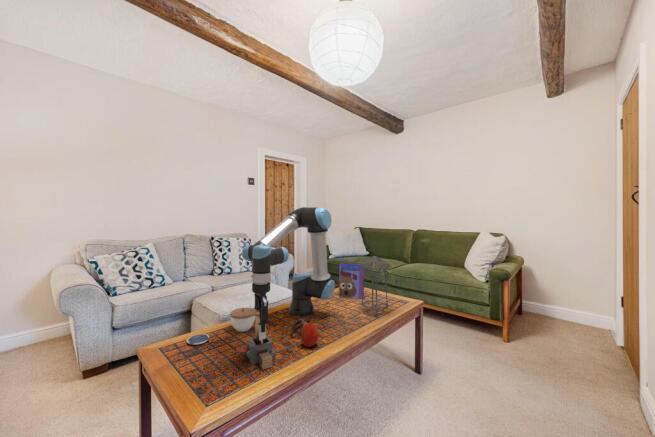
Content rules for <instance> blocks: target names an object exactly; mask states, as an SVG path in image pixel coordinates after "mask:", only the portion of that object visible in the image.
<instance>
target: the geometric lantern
mask: <svg viewBox="0 0 655 437" xmlns="http://www.w3.org/2000/svg"><path fill="white" fill-rule="evenodd" d="M362 265H364V266H362ZM358 266H359V267H360V268H361V269H362V267H363V268H364V270H363V269H362V270H363V271H364V276H363V290H362V299H361V306H363V307H364V308H365V309H366V310H365V312H366V313H367V314H370V315H373V316H379V315H383V314H385V309H386V308H387V309H388V307H389V303H388V289H387V276H386V273H385V271H387V270H388V269H389V268H390V267H391V266H392V264H390V263H388V262H387V261H385V260H384V259H382V258H380V257H379V256H376V255H374V256H371V257H369V258H367V259H366V260H363V261H362V262H360V263H359V265H358ZM371 266H372V267H371ZM374 269H375V270H377V273H376V274H374V273H373V272H372V270H374ZM370 272H371V273H370ZM366 273H368V275H366ZM382 273H383V275H384V276H382V275H380V274H382ZM365 275H366V276H365ZM368 276H369V277H370V278H368ZM378 277H381V278H380V279H378ZM365 279H367V280H370V281H371V300H369V301H366V302H364V299H363V293H364V294H365ZM381 280H384V286H385V300H386V303H385V302H382V301H379V300H378V281H381ZM374 287H375V288H374ZM374 292H375V299H374ZM374 302H375V304H374ZM368 303H371V306H367V305H365V304H368ZM378 303H380V304H382V305H385V306H381V307H380V306H378ZM370 311H371V312H370ZM381 311H382V312H381ZM372 312H373V313H372ZM379 312H381V313H379Z"/></svg>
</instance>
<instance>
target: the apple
mask: <svg viewBox="0 0 655 437" xmlns="http://www.w3.org/2000/svg"><path fill="white" fill-rule="evenodd" d="M310 322H311V321H310ZM310 322H308V323H306V324H305V325H303V329H302V330H301V334H300V337H301V342H302V345H304V346H305V347H307V348H310V347H313V346H315V344H316V343H317V341H318V340H319V336H320V335H319V334H320V333H319V331H318V328H317V326H316V324H315V323H313V322H311V323H310Z"/></svg>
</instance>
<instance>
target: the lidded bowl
mask: <svg viewBox="0 0 655 437" xmlns="http://www.w3.org/2000/svg"><path fill="white" fill-rule="evenodd" d="M229 315H230V323H231V326H232V328H233V329H235V331H237V332H239V333H243V332H244V333H245V332H248V331H249V330H251V328H252V327H253V325H255V321H256V316H255V308H252V307H239V308H235V309H233V310H231V311H230V314H229Z"/></svg>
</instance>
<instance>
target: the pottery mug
mask: <svg viewBox="0 0 655 437" xmlns="http://www.w3.org/2000/svg"><path fill="white" fill-rule="evenodd" d="M308 322H310V323H312V322H311V320H310V319H309V318H306V319H303V318H302V319H299V320H297V321H296V322H294V323H293V325H291V326H290V329H291V333H292V334H297V335H299V331H302V329H303V327H304V325H305V324H306V323H308Z"/></svg>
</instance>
